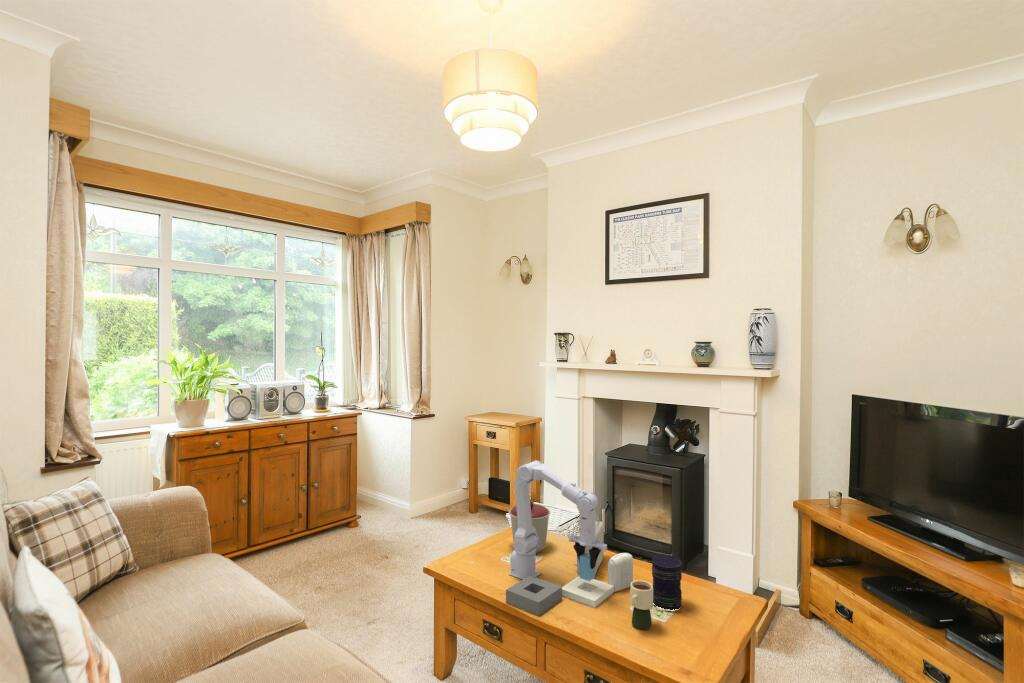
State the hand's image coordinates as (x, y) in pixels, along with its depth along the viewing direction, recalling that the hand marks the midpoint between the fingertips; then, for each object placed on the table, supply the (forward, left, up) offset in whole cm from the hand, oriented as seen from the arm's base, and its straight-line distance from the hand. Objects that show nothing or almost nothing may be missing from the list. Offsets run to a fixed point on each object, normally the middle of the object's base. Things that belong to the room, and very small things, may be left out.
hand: (587, 565), depth 186 cm
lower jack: (0, 0, -10) cm, 10 cm away
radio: (-11, +20, -10) cm, 25 cm away
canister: (-40, +19, -10) cm, 45 cm away
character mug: (+24, -7, -10) cm, 27 cm away
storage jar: (+25, +11, -10) cm, 29 cm away
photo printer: (+7, +12, -10) cm, 17 cm away
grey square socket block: (-12, -16, -10) cm, 22 cm away
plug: (0, 0, -4) cm, 4 cm away
